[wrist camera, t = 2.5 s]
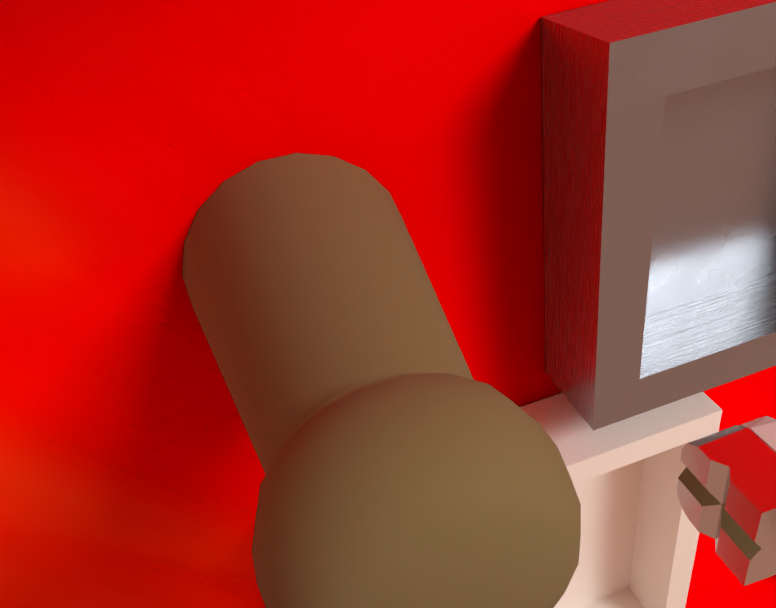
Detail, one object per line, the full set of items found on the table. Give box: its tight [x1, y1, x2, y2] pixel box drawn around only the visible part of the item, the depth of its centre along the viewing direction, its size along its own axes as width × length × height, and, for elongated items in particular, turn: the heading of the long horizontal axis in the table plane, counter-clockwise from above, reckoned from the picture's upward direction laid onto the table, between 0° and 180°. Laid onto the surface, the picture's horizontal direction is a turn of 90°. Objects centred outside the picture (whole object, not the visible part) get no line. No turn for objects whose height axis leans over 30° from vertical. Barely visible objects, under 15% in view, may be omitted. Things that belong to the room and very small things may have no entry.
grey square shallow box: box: [541, 0, 776, 431], centre depth 20 cm, size 12×12×3 cm
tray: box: [520, 392, 722, 608], centre depth 27 cm, size 14×14×3 cm
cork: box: [182, 153, 581, 608], centre depth 14 cm, size 6×6×11 cm
